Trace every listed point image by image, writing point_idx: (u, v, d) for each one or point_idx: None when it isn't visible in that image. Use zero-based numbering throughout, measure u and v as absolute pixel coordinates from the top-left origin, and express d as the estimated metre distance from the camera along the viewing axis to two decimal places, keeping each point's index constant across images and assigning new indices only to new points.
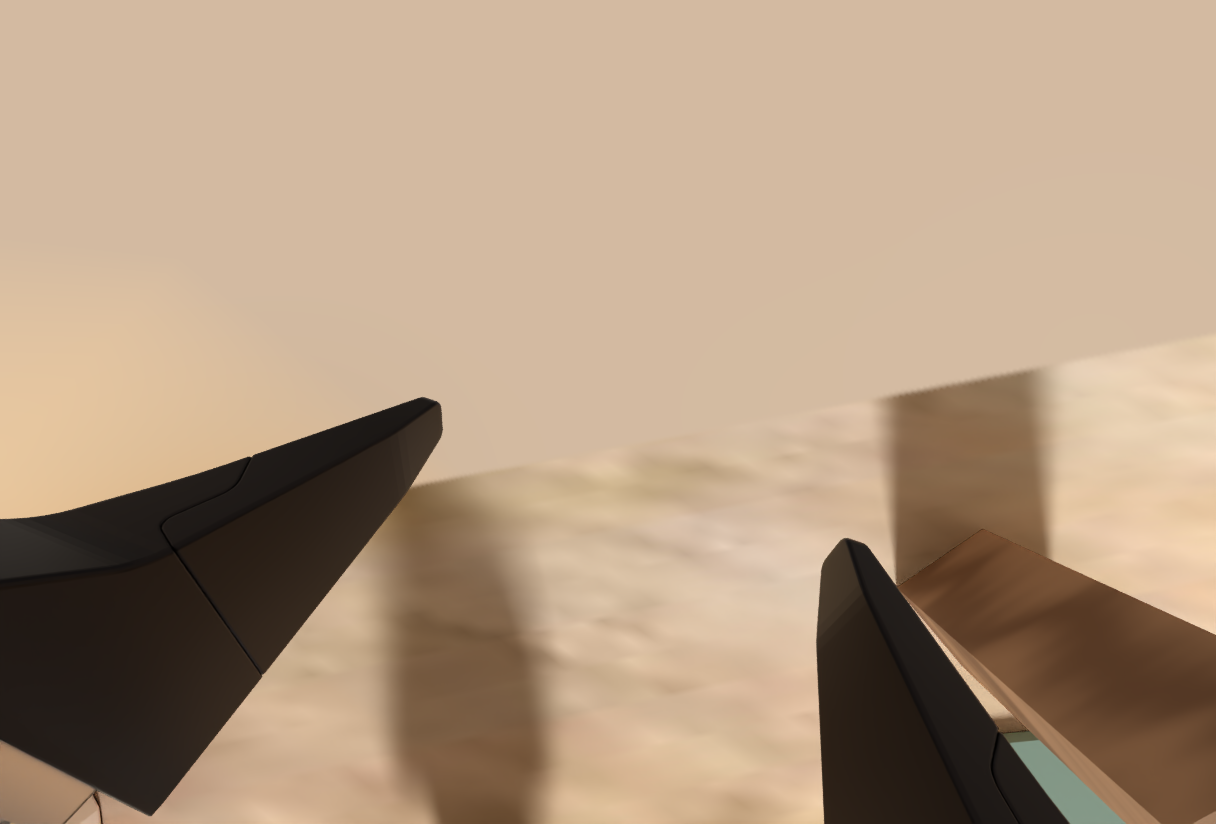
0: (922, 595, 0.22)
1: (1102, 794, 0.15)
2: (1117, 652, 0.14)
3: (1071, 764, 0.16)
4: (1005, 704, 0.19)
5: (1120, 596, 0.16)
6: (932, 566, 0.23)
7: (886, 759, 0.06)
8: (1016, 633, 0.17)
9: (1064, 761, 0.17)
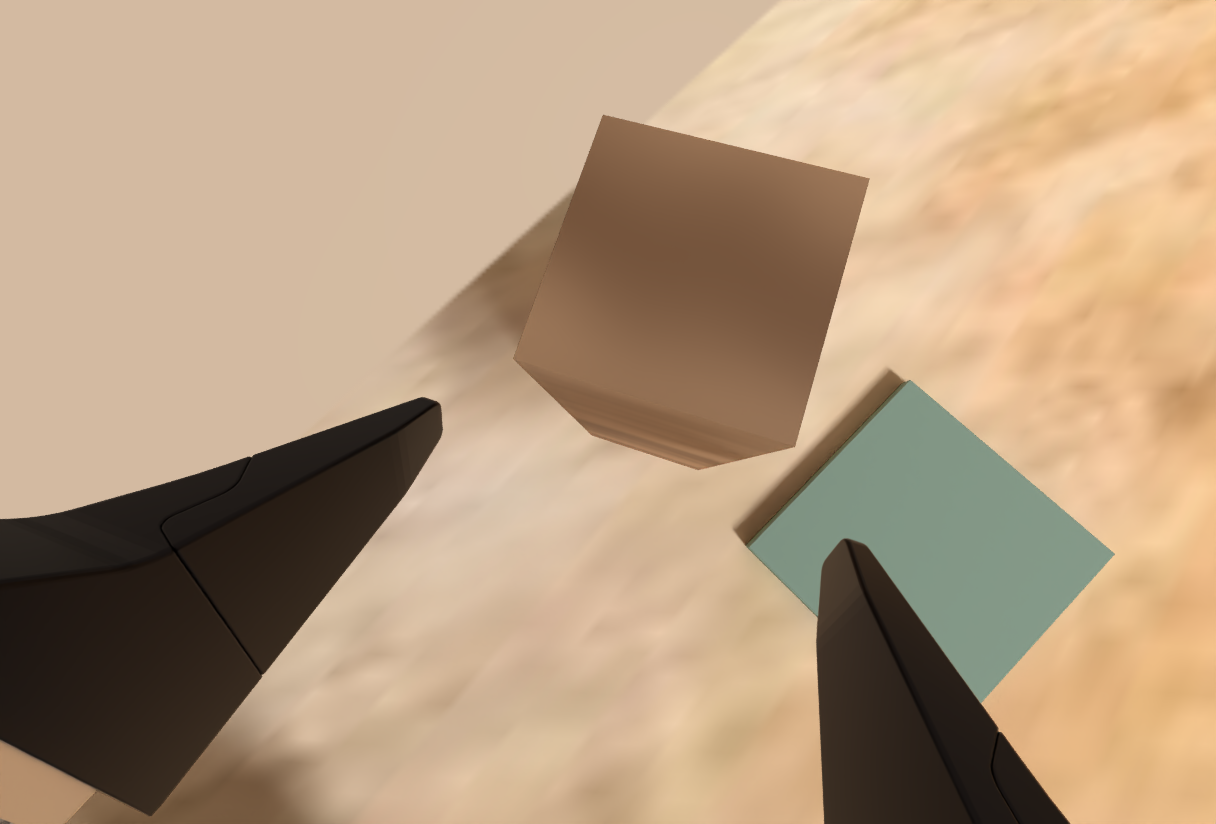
0: None
1: (691, 445, 0.12)
2: None
3: (681, 446, 0.13)
4: (687, 459, 0.17)
5: None
6: None
7: (886, 759, 0.06)
8: None
9: (704, 457, 0.14)
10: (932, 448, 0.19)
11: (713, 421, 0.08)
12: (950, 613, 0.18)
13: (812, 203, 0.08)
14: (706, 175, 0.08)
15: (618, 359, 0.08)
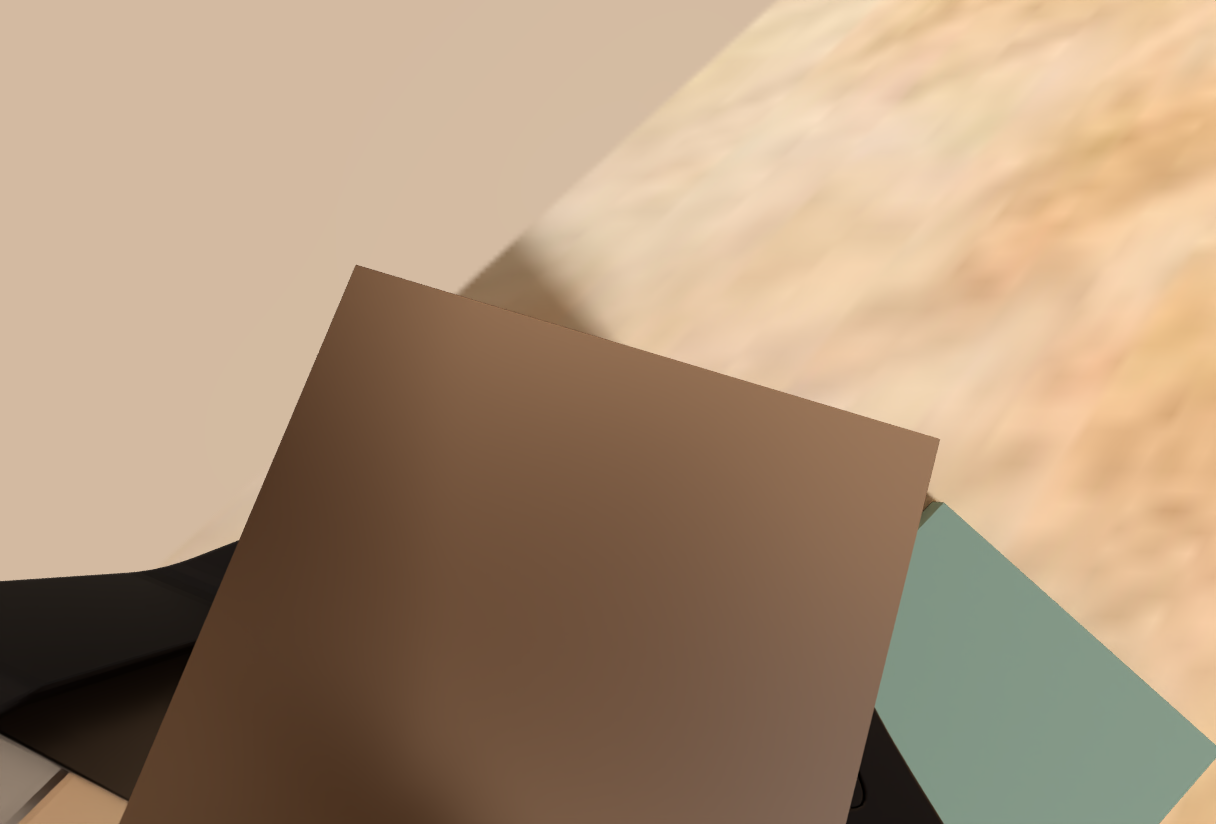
0: None
1: None
2: None
3: None
4: None
5: None
6: None
7: None
8: None
9: None
10: (973, 597, 0.15)
11: None
12: None
13: (803, 496, 0.03)
14: (563, 415, 0.04)
15: None
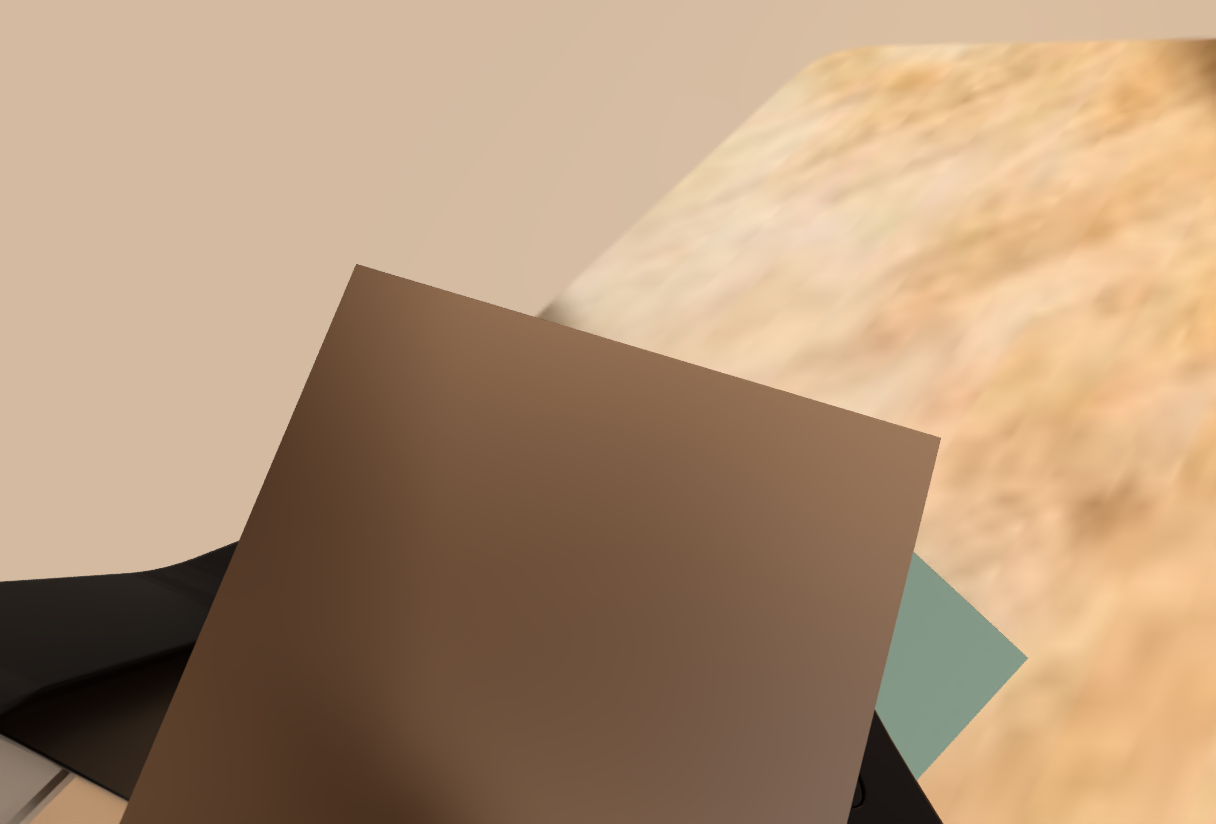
0: None
1: None
2: None
3: None
4: None
5: None
6: None
7: None
8: None
9: None
10: None
11: None
12: (881, 710, 0.20)
13: (804, 495, 0.03)
14: (564, 414, 0.04)
15: None
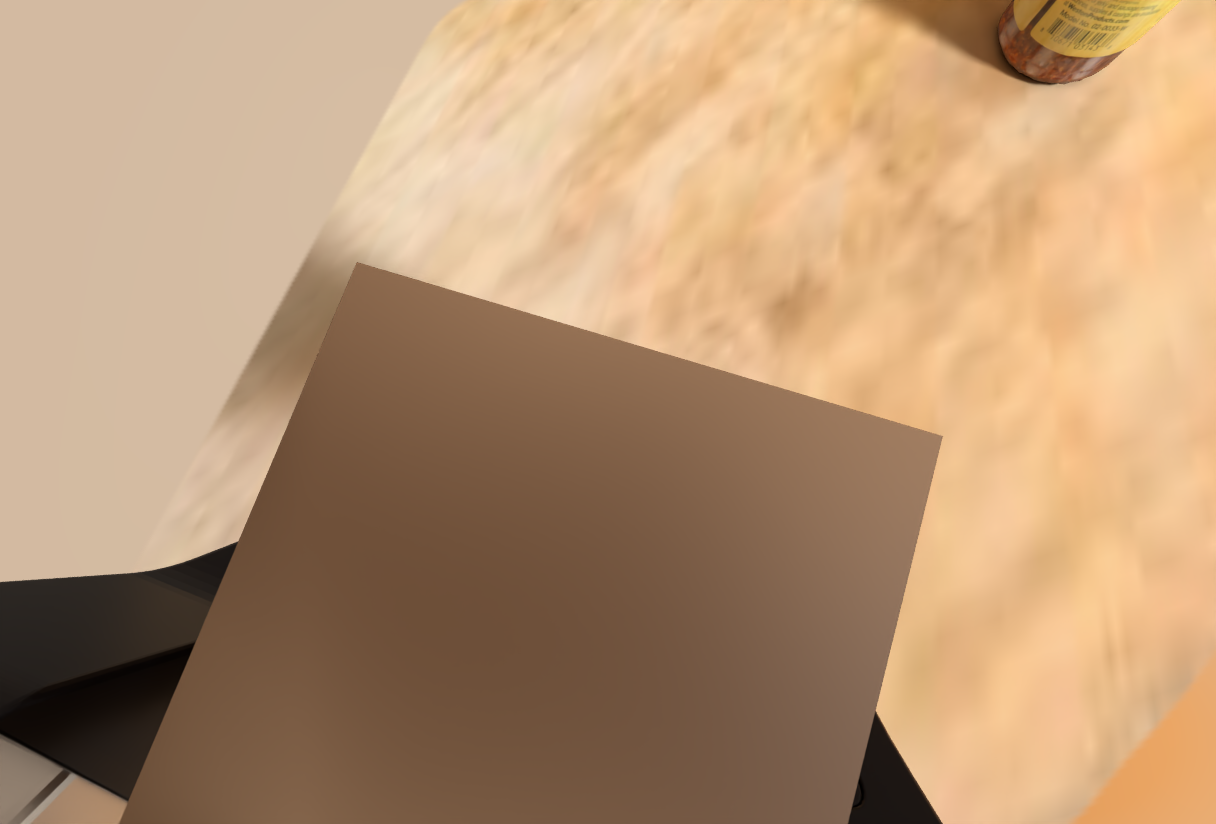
0: None
1: None
2: None
3: None
4: None
5: None
6: None
7: None
8: None
9: None
10: None
11: None
12: None
13: (805, 494, 0.03)
14: (564, 412, 0.04)
15: None
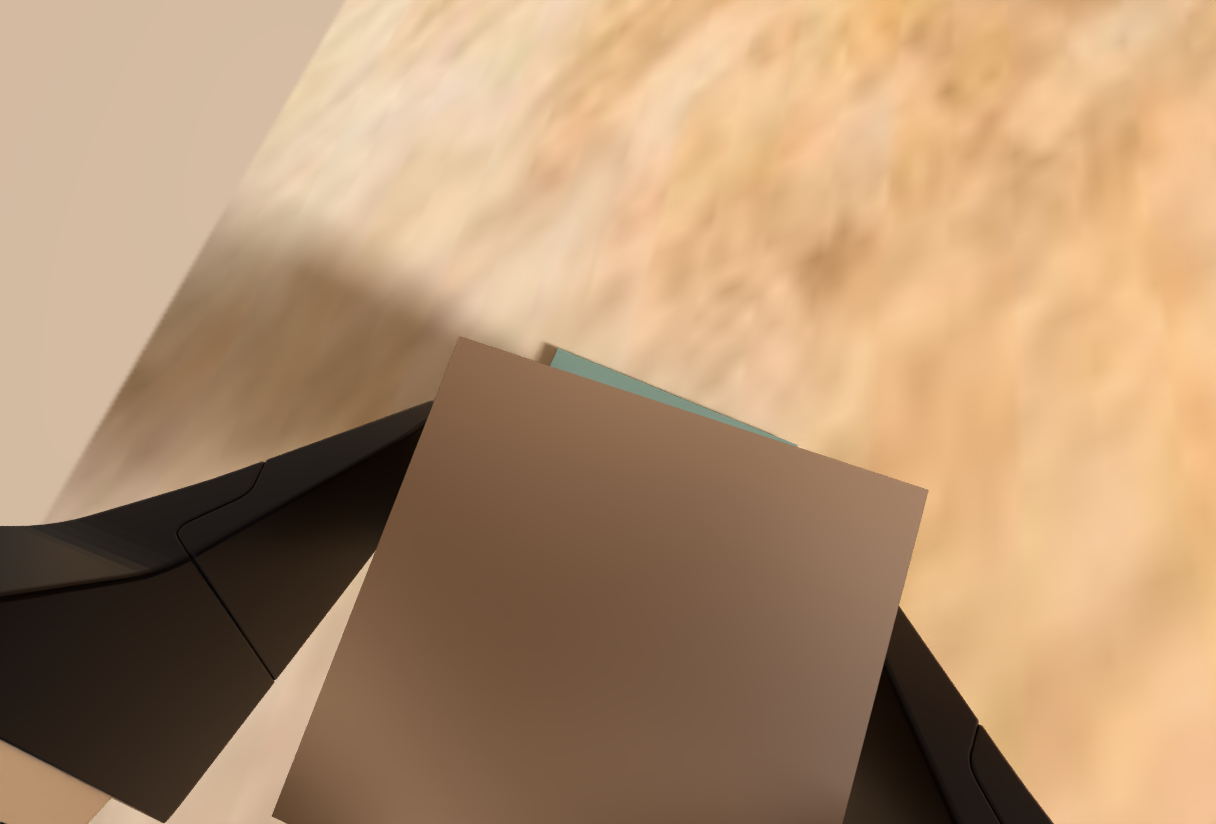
0: None
1: None
2: None
3: None
4: None
5: None
6: None
7: (868, 752, 0.06)
8: None
9: None
10: None
11: None
12: None
13: (823, 533, 0.04)
14: (635, 465, 0.05)
15: None
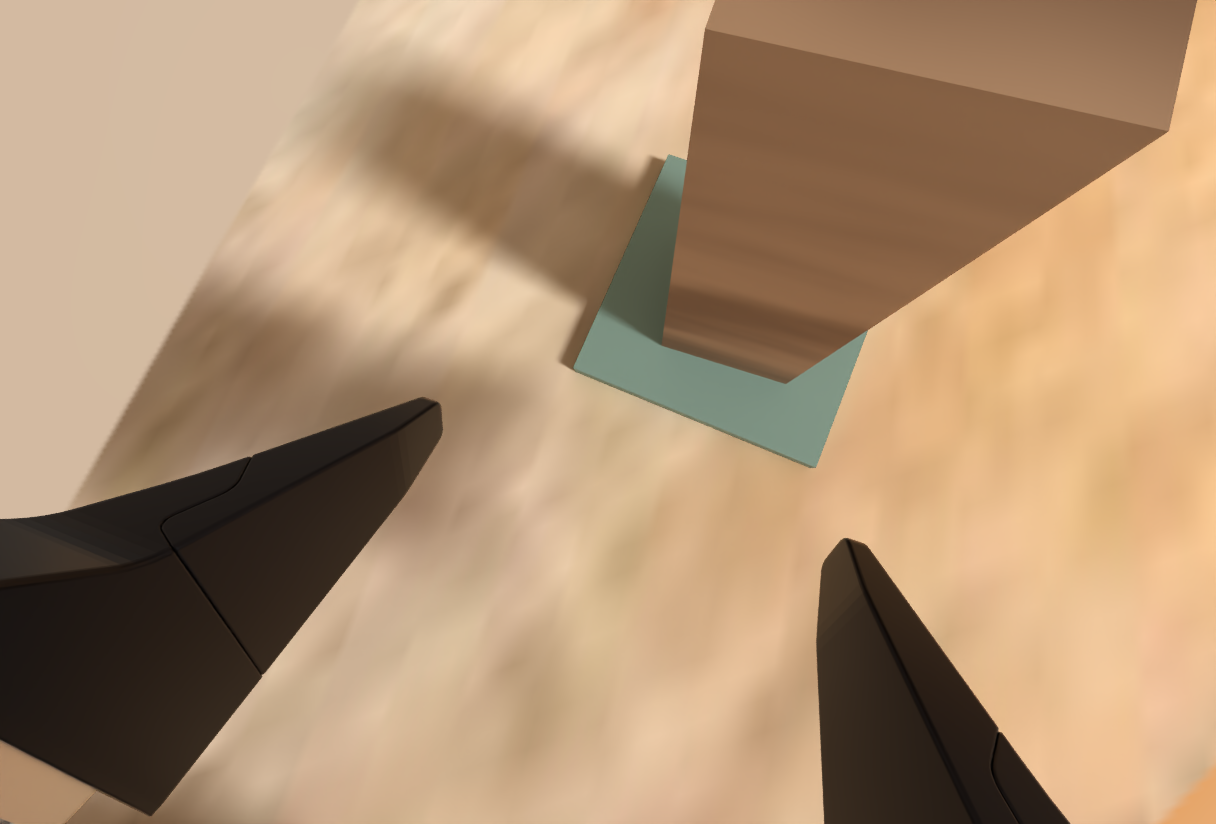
0: None
1: (853, 280, 0.09)
2: None
3: (825, 297, 0.10)
4: (796, 349, 0.14)
5: None
6: None
7: (886, 759, 0.06)
8: None
9: (843, 321, 0.11)
10: None
11: (1026, 104, 0.05)
12: None
13: None
14: None
15: (870, 22, 0.05)
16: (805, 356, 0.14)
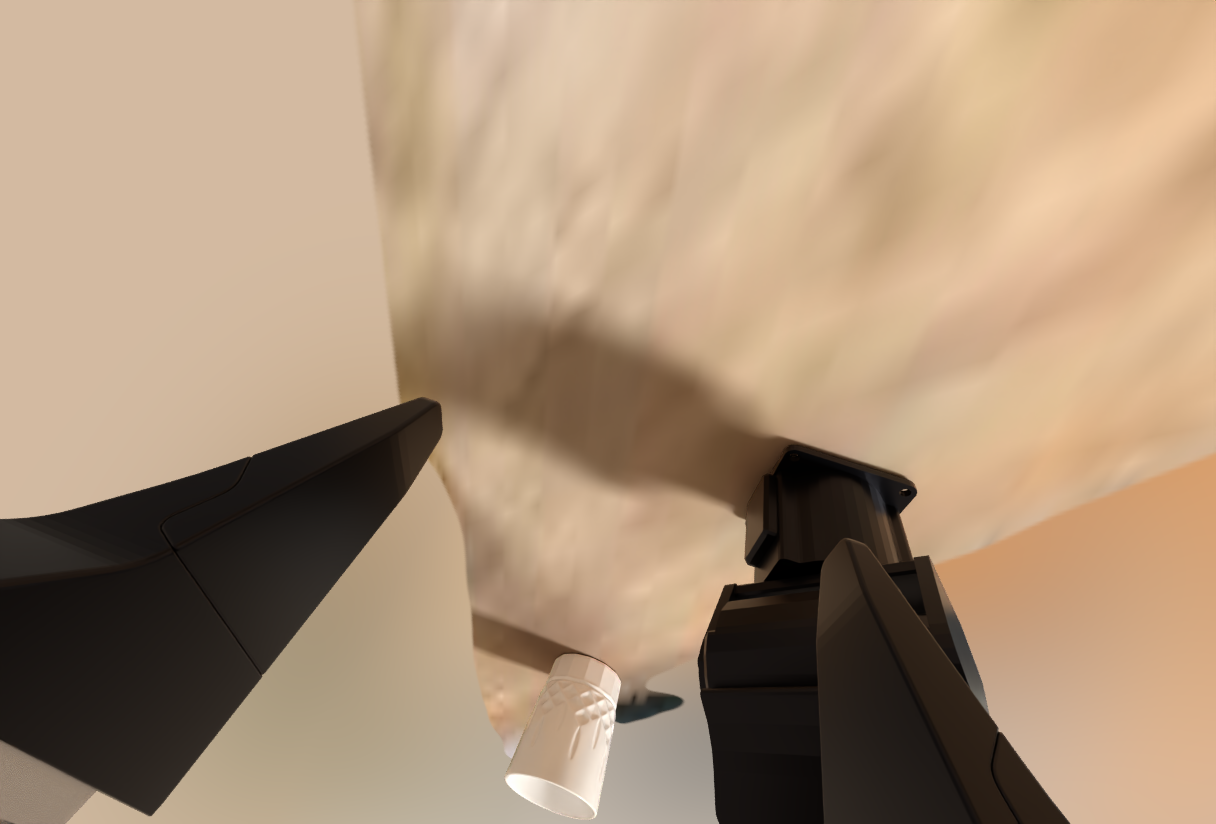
0: None
1: None
2: None
3: None
4: None
5: None
6: None
7: (886, 759, 0.06)
8: None
9: None
10: None
11: None
12: None
13: None
14: None
15: None
16: None
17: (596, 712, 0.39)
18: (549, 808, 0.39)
